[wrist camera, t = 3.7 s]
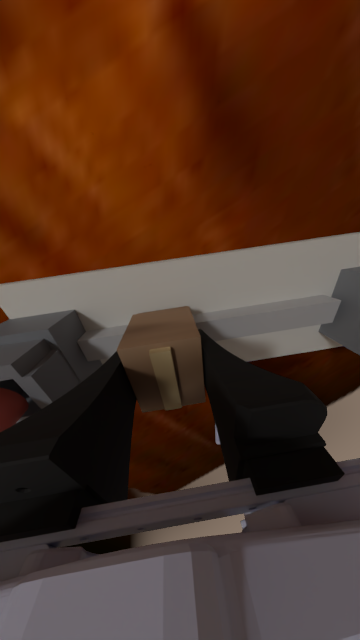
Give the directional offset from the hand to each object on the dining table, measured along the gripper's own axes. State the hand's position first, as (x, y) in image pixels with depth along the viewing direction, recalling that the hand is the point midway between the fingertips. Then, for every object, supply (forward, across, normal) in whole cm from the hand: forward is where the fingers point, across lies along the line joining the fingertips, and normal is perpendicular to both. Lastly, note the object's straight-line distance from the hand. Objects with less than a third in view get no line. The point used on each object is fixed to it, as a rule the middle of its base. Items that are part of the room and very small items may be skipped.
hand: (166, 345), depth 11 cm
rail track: (+3, -3, 0) cm, 5 cm away
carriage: (+2, 0, 0) cm, 2 cm away
